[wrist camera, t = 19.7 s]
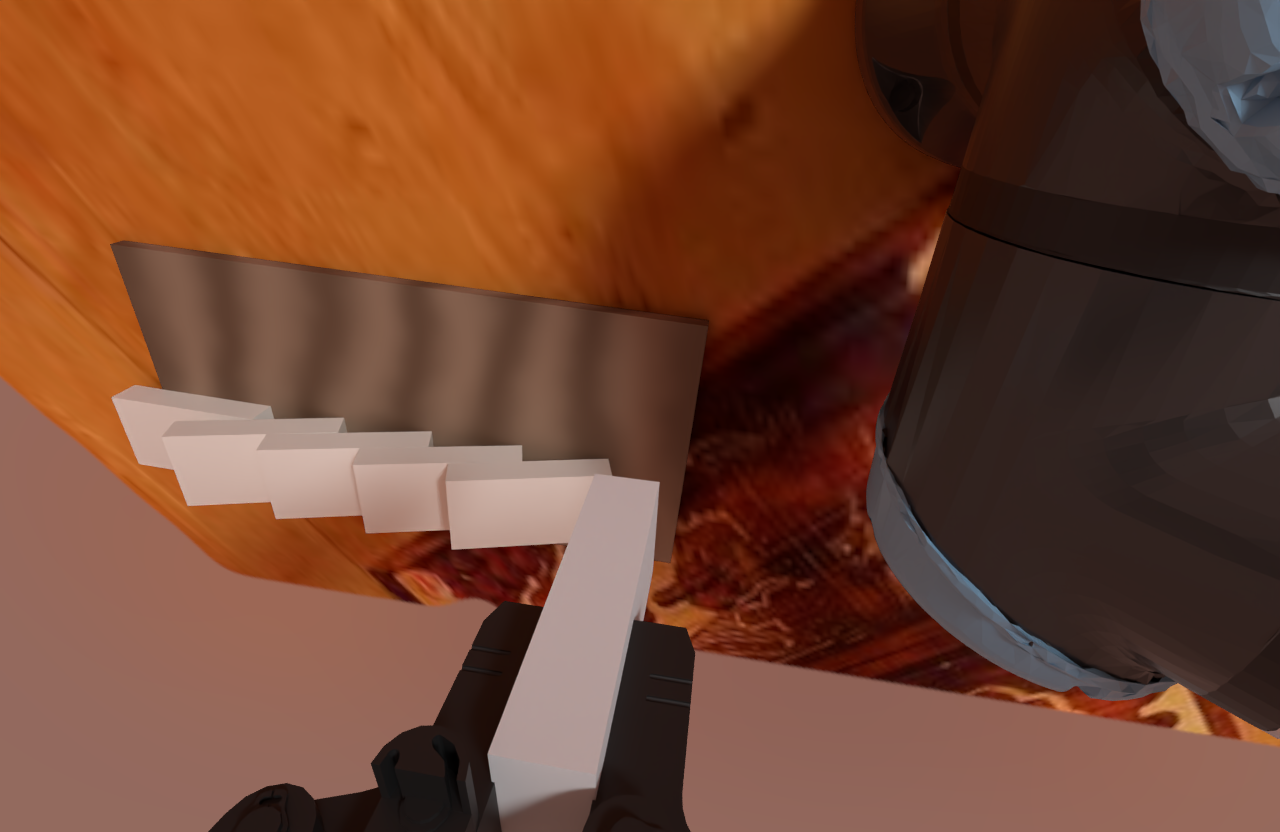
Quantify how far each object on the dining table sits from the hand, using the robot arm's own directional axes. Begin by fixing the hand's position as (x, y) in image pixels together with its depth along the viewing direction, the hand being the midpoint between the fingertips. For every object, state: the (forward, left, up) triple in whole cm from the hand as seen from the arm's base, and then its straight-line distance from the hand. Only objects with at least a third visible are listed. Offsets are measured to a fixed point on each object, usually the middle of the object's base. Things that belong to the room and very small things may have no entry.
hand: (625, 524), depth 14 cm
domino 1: (+30, +18, -23) cm, 42 cm away
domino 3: (+17, +18, -23) cm, 34 cm away
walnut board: (+18, +14, -25) cm, 34 cm away
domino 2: (+24, +18, -23) cm, 38 cm away
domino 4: (+10, +18, -23) cm, 31 cm away
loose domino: (+4, +18, -23) cm, 30 cm away
